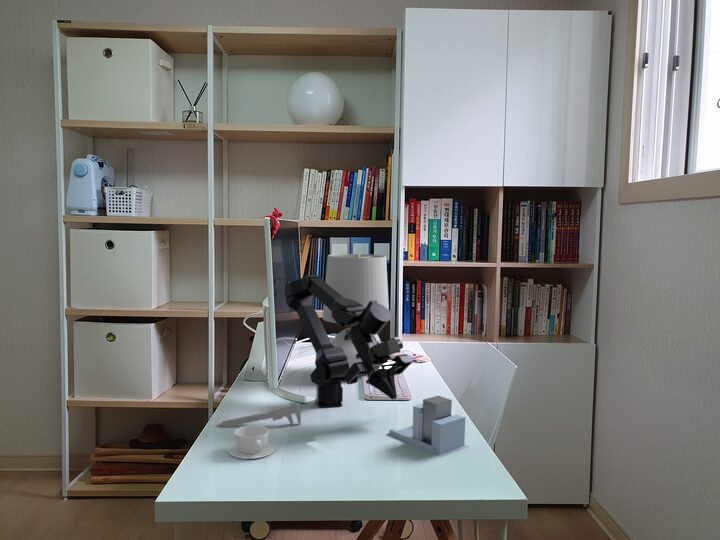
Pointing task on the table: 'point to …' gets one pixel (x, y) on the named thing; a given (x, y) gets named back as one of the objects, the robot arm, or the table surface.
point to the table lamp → (356, 288)
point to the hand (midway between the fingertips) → (394, 398)
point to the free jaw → (417, 421)
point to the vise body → (439, 435)
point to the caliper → (267, 416)
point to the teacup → (251, 442)
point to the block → (434, 414)
